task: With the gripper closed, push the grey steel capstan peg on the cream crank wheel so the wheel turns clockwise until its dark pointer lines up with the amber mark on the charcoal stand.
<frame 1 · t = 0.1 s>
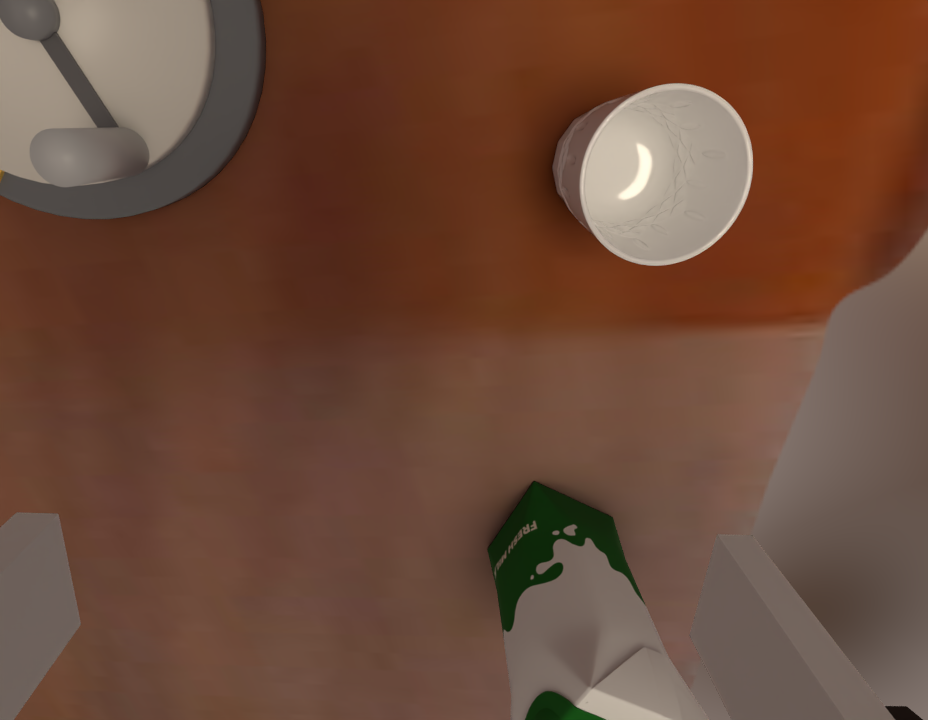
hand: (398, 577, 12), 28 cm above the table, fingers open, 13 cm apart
cream crank wheel: (4, 7, 27), point 6 cm above the table, hinge at 30.0°
stand base: (76, 24, 32), on the table
white cup: (606, 164, 37), on the table
milk carton: (549, 531, 46), on the table
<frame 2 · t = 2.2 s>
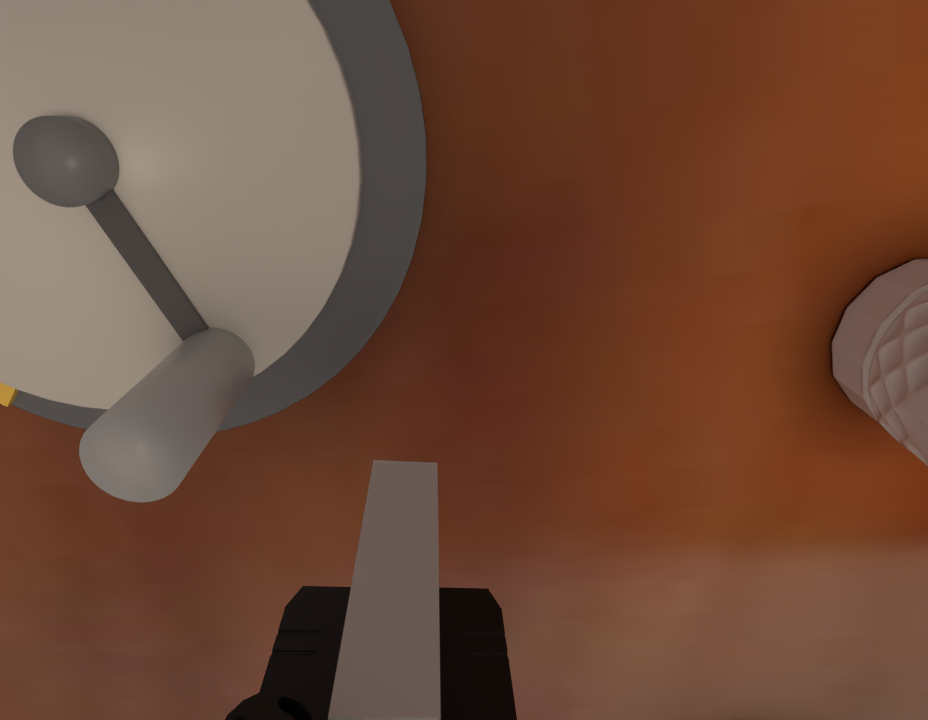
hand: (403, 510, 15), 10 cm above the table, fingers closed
cream crank wheel: (28, 170, 15), point 6 cm above the table, hinge at 30.0°
stand base: (135, 152, 21), on the table
white cup: (907, 335, 25), on the table
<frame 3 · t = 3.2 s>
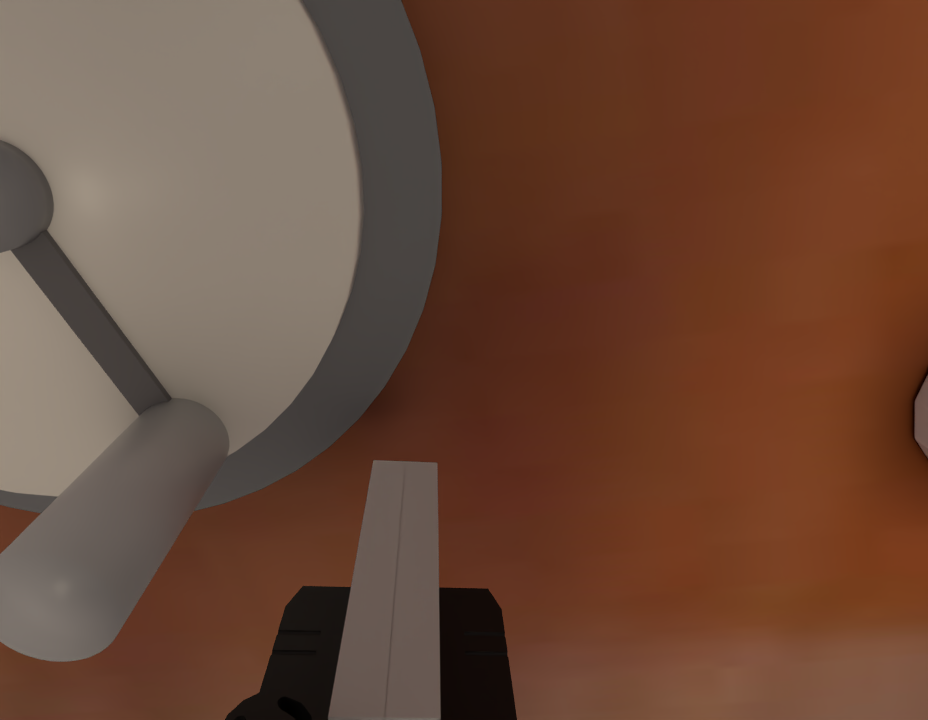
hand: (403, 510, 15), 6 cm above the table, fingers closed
stand base: (85, 179, 17), on the table
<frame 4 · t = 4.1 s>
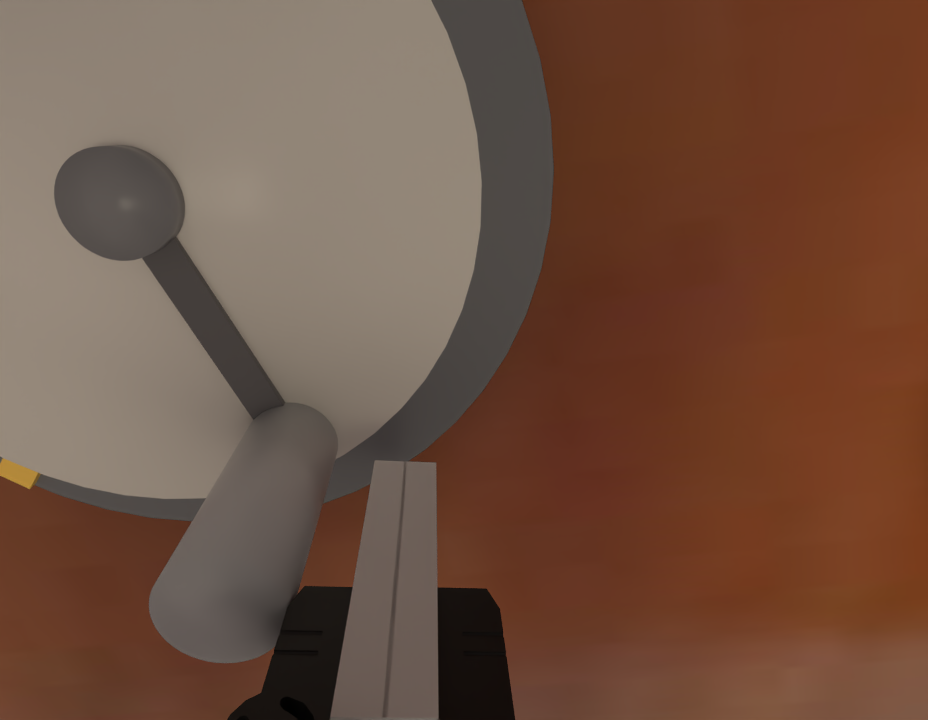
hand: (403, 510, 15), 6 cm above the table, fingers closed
cream crank wheel: (79, 220, 12), point 6 cm above the table, hinge at 29.9°, touching gripper
stand base: (190, 185, 17), on the table
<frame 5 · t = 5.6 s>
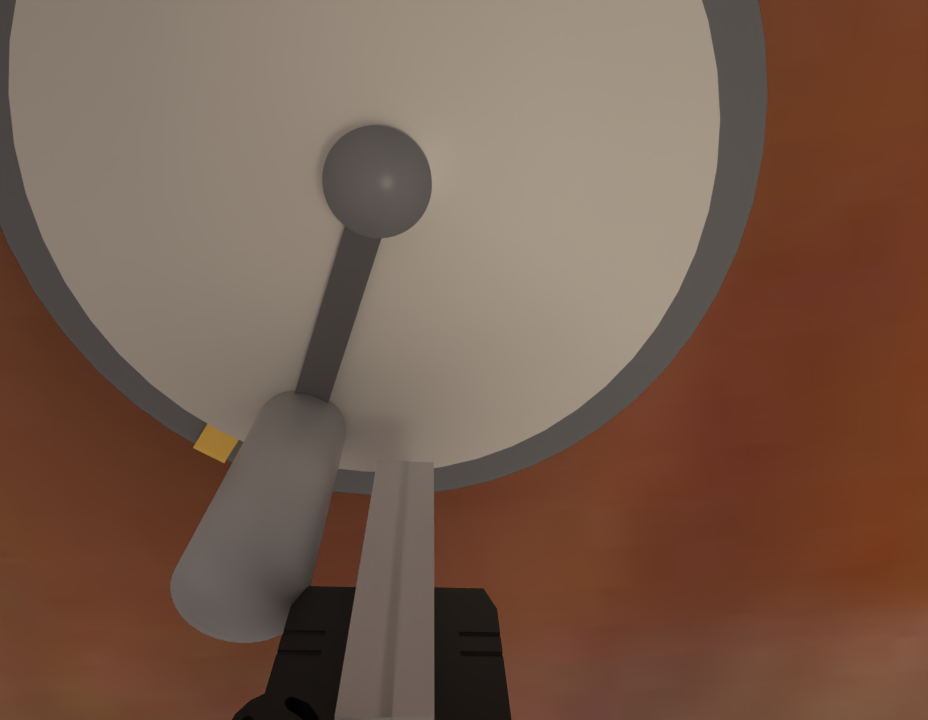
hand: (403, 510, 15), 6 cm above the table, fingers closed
cream crank wheel: (370, 197, 12), point 6 cm above the table, hinge at -15.8°, touching gripper
stand base: (388, 165, 17), on the table
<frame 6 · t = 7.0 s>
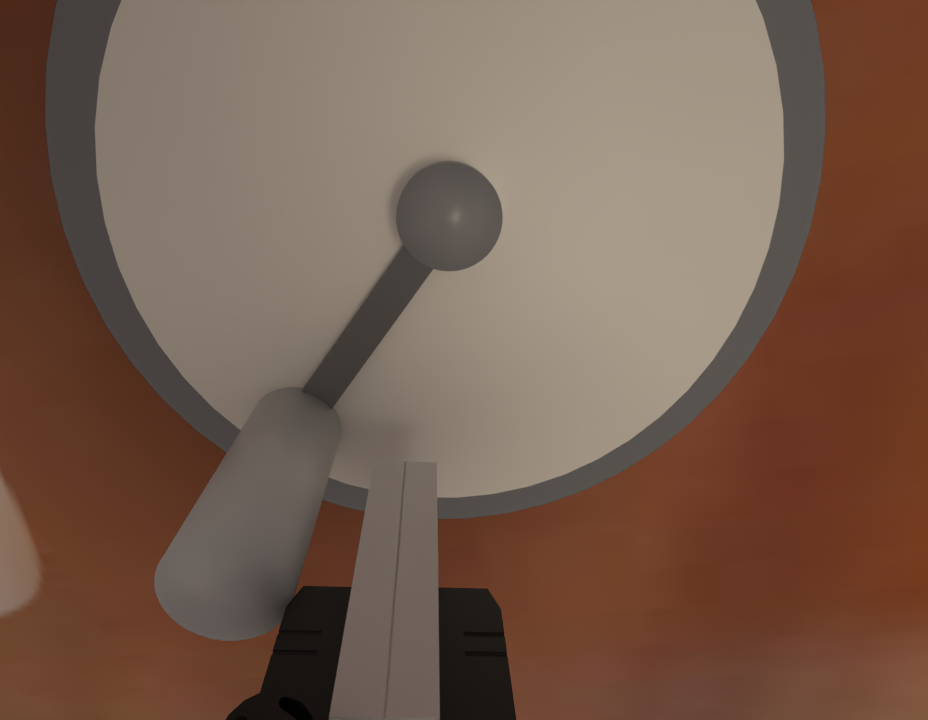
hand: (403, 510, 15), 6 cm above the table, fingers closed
cream crank wheel: (448, 234, 12), point 6 cm above the table, hinge at -32.4°
stand base: (445, 195, 18), on the table
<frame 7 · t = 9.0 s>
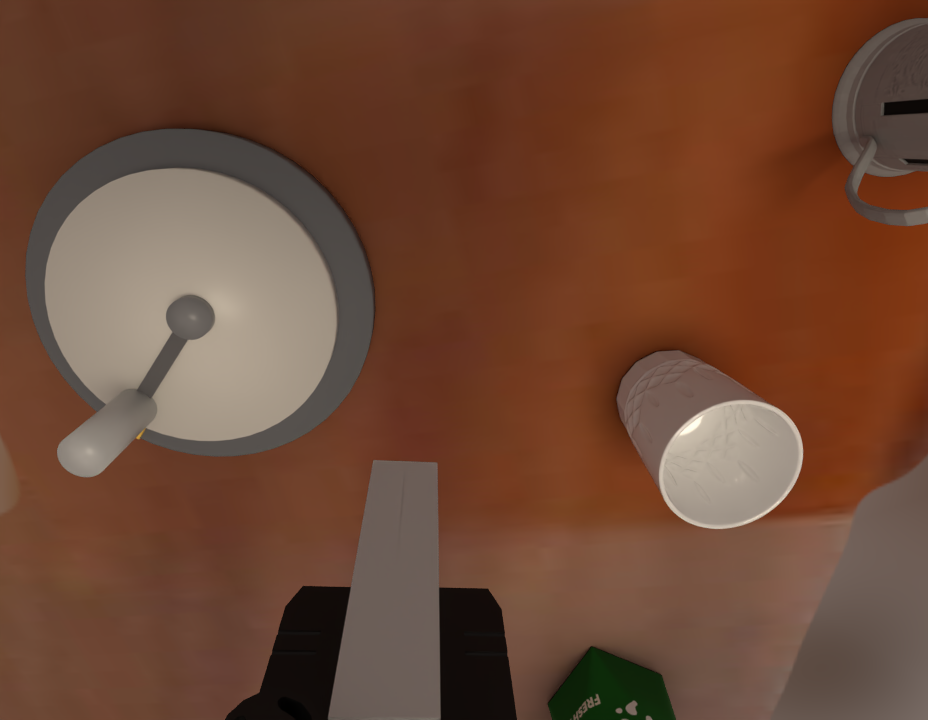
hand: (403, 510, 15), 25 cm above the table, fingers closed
cream crank wheel: (177, 328, 32), point 6 cm above the table, hinge at -32.4°
stand base: (214, 299, 38), on the table
glass holder: (860, 128, 37), on the table
white cup: (662, 393, 42), on the table
milk carton: (604, 687, 51), on the table
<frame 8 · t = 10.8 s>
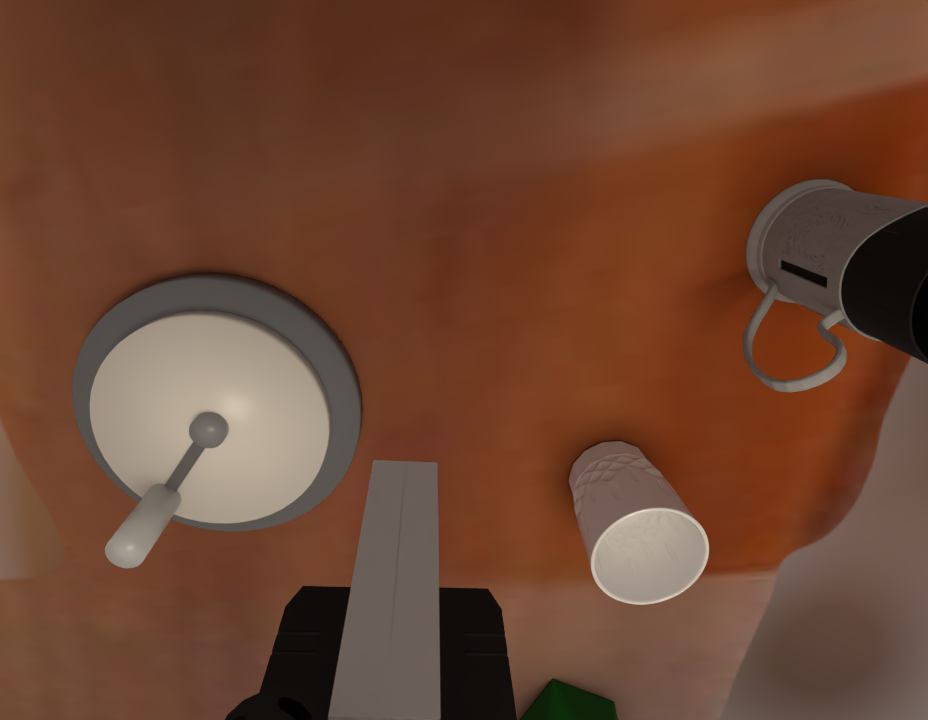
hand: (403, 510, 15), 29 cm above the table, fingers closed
cream crank wheel: (198, 444, 40), point 6 cm above the table, hinge at -32.4°
stand base: (227, 404, 45), on the table
glass holder: (770, 264, 43), on the table
white cup: (608, 474, 49), on the table
milk carton: (564, 712, 59), on the table
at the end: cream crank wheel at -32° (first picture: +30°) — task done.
